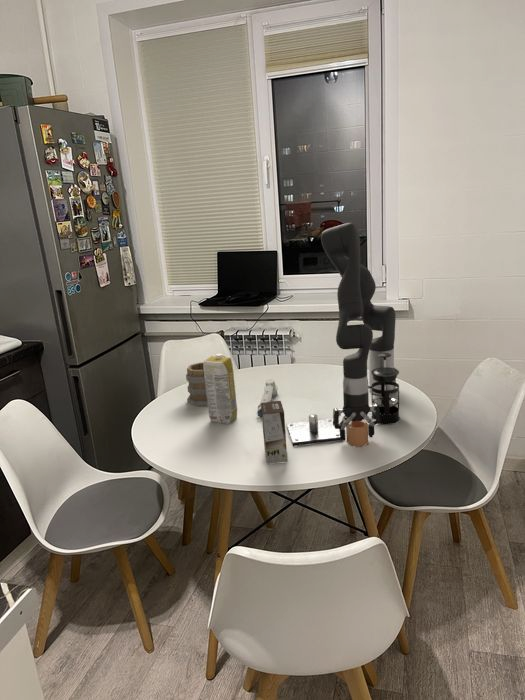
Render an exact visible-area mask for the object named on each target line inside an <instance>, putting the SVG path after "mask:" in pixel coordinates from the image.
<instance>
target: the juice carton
mask: <svg viewBox="0 0 525 700" xmlns="http://www.w3.org/2000/svg"><path fill="white" fill-rule="evenodd" d="M223 356H224V355H223V354H222V353H216V354H215V355H211V356H210V357H208V358H207V359H205V360H203V361H202V362H203V368H204V378H205V386H206V395H207V403H208V406H207V410H208V416H209V420H210V422H212V423H221V424H227V425H229V424H231V422H233V421H234V420H235V419H237V417H238V402H237V393H236V384H235V382H236V381H235V373H234V367H233V361H232V357H231V356H225V357H223Z"/></svg>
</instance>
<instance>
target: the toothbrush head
mask: <svg viewBox="0 0 525 700" xmlns="http://www.w3.org/2000/svg"><path fill="white" fill-rule="evenodd" d="M278 388H279V387H278V385H277V384H276V381H275V380H274V379H273V378H269V379H267V380H265V386H264V388H263V394H262V397H261V400H260V402H259V404H258V406H257V411H256V413H257V416H258V418H260V419H262V413H261V403H265V402H271V401H272V397H275V396H276V395H277V396H278Z"/></svg>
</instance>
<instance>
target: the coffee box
mask: <svg viewBox="0 0 525 700" xmlns="http://www.w3.org/2000/svg"><path fill="white" fill-rule="evenodd" d="M261 413H262V418H261V423H262V424H261V425H262V434H263V443H264V444H263V445H264V454H265V455H264V456H265V460H266V464H267V465H270V464H271V465H273V464H279V463H287V462H288V452H287V451H288V449H287V434H286V421H285V420H286V419H285V418H286V417H285V410H284V408H283V403H282V401H281V400H271V402H265V403H261Z"/></svg>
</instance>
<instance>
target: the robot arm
mask: <svg viewBox="0 0 525 700" xmlns="http://www.w3.org/2000/svg"><path fill="white" fill-rule="evenodd" d="M320 241H321V245H322V248H323V250H324V252H325V254H326V256H327V258H328V260H330V262H331V264H333V266H334V267H335V269H336V270H337V272H338V274H339V275H340V277H341V279H340V282H339V284H338V286H337V287H338V288H337V295H336V296H337V304H338V305H337V306H338V325H337V330H336V336H335V342H336V345H337V346H338V347H339V349H341V350H355V349H358V350H357V352H355V353H351V354H348V355H346V356H345V357H344V358H343V361H342V366H343V368H342V371H343V379H342V390H343V391H342V392H343V393H342V395H343V396H342V398H343V406H342V408H337V407H334V408H333V410H332V411H333V412H332V419H333V425H334V427H335V429H339V432H340V437H341V439H342V440H341V441H347V438H346V426H347V425H348V424H349V423H350V422H351V421H352V422H355V421H362V420H363V421H366V422H367V424H368V438H369V439H370V438H373V437H374V436H375V426H376V425H381V424H380V410H379V406H378V405H377V404H376V403H374V404H373V405H372V404H371V405H370V404H369V402H370V401H369V400H370V399H369V392H370V394H372V392H371V388H369V386H371V385H372V384H373V383H375V382H378V381H375V380H374V379H373V375H372V374H371V371H372V370H373V369H376V368H381V367H384V360H383V357H379V356H378V355H379V354H380V353H389V354H391V356H390V357H386V360H385V367H389V368H394V369H397V368H396V367H395V341H396V320H397V318H396V311H395V309H394V307H393V306H391V305H390V306H387V305H375V304H374V303H372V301H371V300H372V299H373V297H374V294H375V292H376V287H377V286H376V281H375V280H374V277H373V276H372V273H371V271H370V270H369V269H368V268H367V267H366V266H364V265H363V264H361V238H360V234H359V231H358V228H357V227H356V225H355V223H352V222H346V223H344V224H340V225H337V226H333V227H329V228H327V229H325V230H323V231H322V232H321V234H320ZM346 255H347V256H348V257H347V256H346ZM360 318H361V320H362V322H363V323H359V324H348V323H349V322H350V321H353V320H356V319H360ZM374 331H379V332H381V336H378V337H374V334H373V332H374ZM368 374H369V375H368ZM368 377H369V378H368ZM396 379H397V378H396ZM396 379H395V380H394V381H392V382H395V383H397V380H396ZM373 388H375V389H378V390H381V385H377V386H374V387H373ZM396 388H397V387H396V386H393V385H386V390H393V389H396ZM373 395H377V396H381V394H378V393H375V392H373ZM370 410H372V411H373V412H374V419H373V420H372V419H371V417H369V416H368V414H369V413H370V412H369V411H370ZM342 414H343V415H344V416H342ZM341 416H342V418H341V421H340V417H341Z"/></svg>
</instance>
